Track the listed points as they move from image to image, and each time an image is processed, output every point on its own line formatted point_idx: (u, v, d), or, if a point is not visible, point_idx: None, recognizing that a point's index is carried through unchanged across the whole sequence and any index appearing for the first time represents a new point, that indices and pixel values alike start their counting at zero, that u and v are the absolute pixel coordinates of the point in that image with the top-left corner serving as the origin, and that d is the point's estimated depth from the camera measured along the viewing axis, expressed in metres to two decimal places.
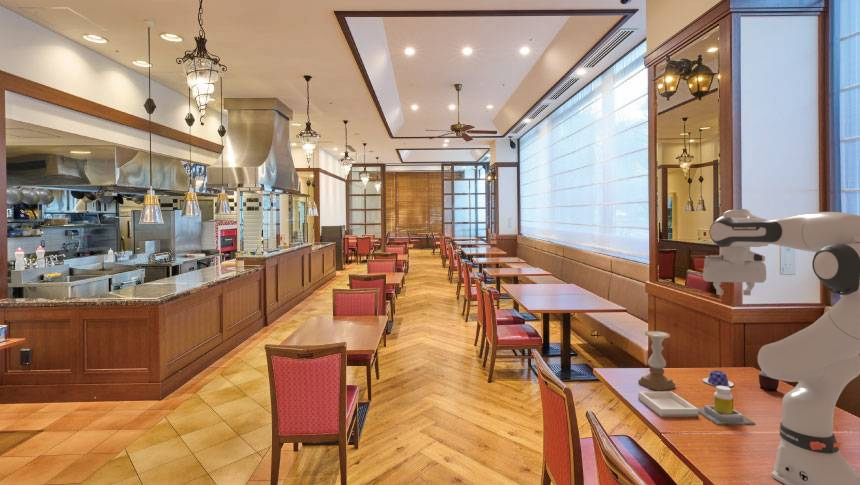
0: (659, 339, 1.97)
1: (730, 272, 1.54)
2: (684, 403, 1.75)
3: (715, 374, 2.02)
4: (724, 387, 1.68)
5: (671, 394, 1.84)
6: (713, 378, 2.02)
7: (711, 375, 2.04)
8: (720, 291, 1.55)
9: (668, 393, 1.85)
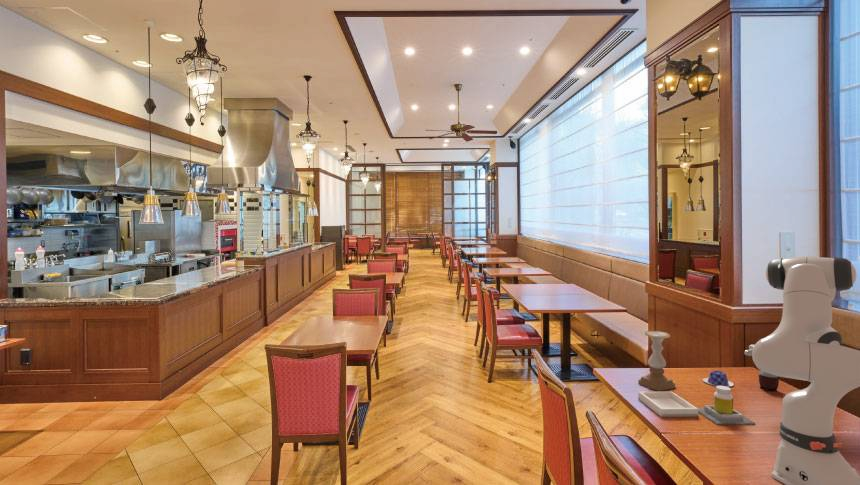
0: (659, 339, 1.97)
1: None
2: (684, 403, 1.75)
3: (715, 374, 2.02)
4: (724, 387, 1.68)
5: (671, 394, 1.84)
6: (713, 378, 2.03)
7: (711, 375, 2.04)
8: (748, 350, 1.72)
9: (668, 393, 1.85)
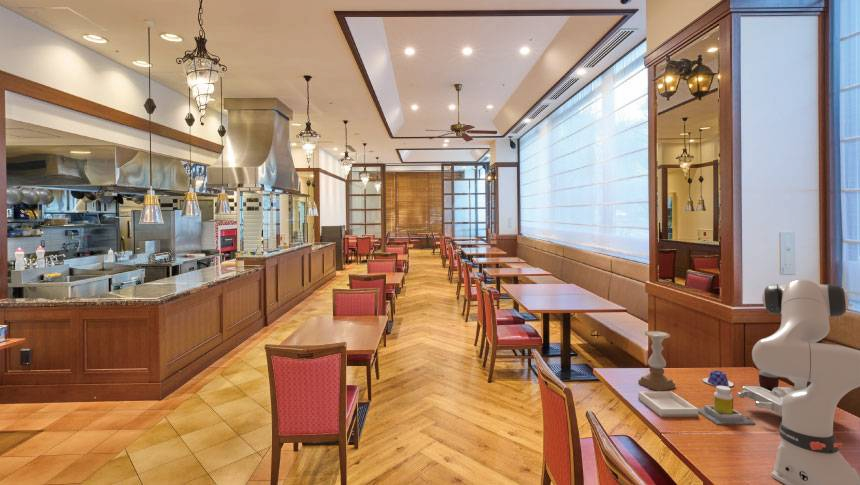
0: (659, 339, 1.97)
1: (764, 392, 1.70)
2: (684, 403, 1.75)
3: (715, 374, 2.02)
4: (724, 387, 1.68)
5: (671, 394, 1.84)
6: (713, 378, 2.03)
7: (711, 375, 2.04)
8: (741, 392, 1.73)
9: (668, 393, 1.85)
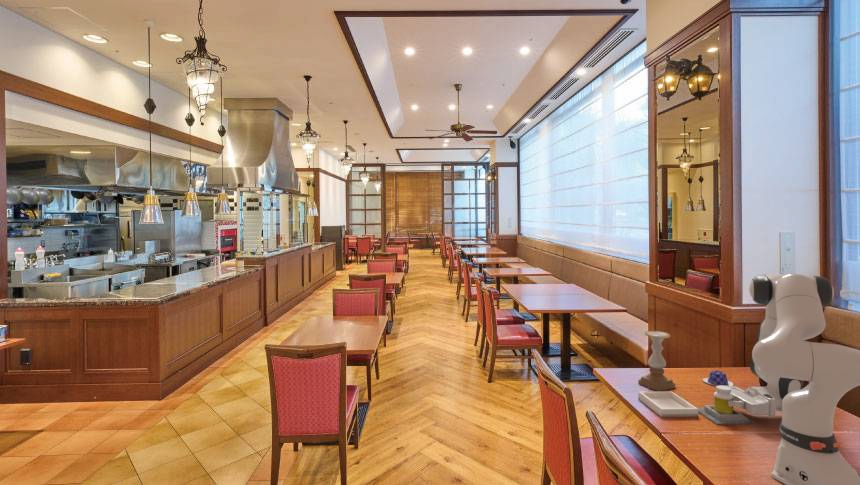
0: (659, 339, 1.97)
1: (737, 392, 1.70)
2: (684, 403, 1.75)
3: (714, 374, 2.02)
4: (724, 387, 1.68)
5: (671, 394, 1.84)
6: (712, 378, 2.03)
7: (711, 375, 2.04)
8: None
9: (668, 393, 1.85)
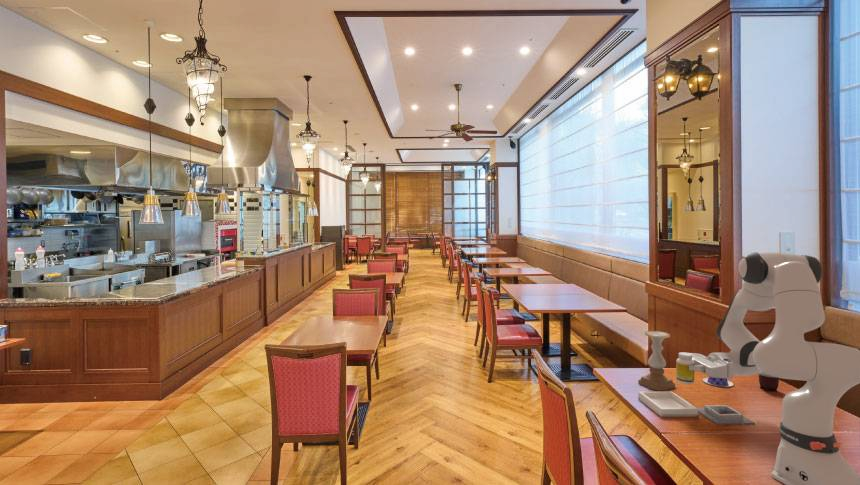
0: (659, 339, 1.97)
1: (699, 358, 1.76)
2: (684, 403, 1.75)
3: None
4: (686, 353, 1.74)
5: (671, 394, 1.84)
6: (712, 378, 2.03)
7: None
8: None
9: (668, 393, 1.85)
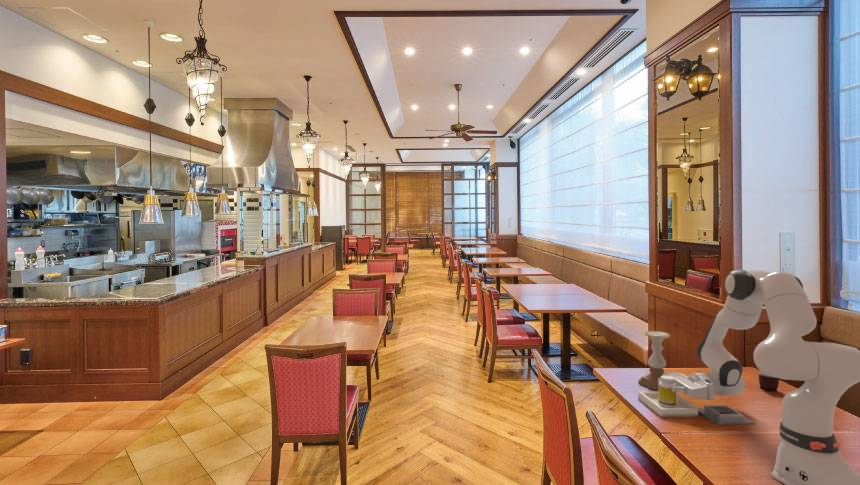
0: (659, 339, 1.97)
1: (681, 378, 1.79)
2: (684, 403, 1.75)
3: None
4: (668, 377, 1.77)
5: None
6: None
7: None
8: None
9: None
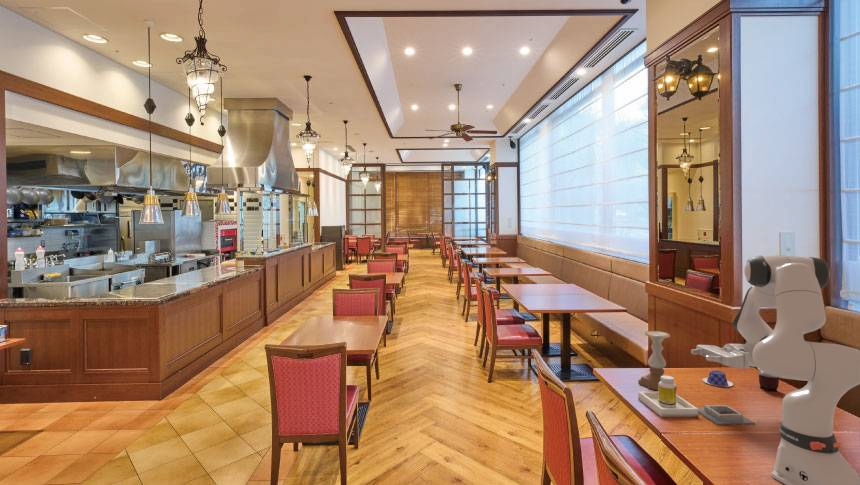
0: (659, 339, 1.97)
1: (715, 349, 1.78)
2: (684, 403, 1.75)
3: (713, 373, 2.03)
4: (668, 377, 1.77)
5: None
6: (710, 377, 2.04)
7: (710, 374, 2.05)
8: (694, 349, 1.81)
9: None
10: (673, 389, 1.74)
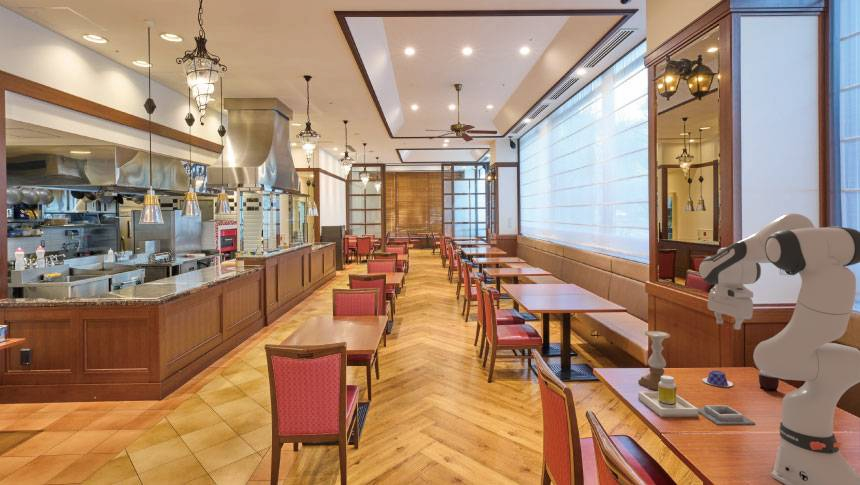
0: (659, 339, 1.97)
1: (719, 304, 1.70)
2: (684, 403, 1.75)
3: (712, 373, 2.03)
4: (668, 377, 1.77)
5: None
6: (710, 377, 2.04)
7: (709, 374, 2.05)
8: (716, 320, 1.73)
9: None
10: (673, 389, 1.74)
